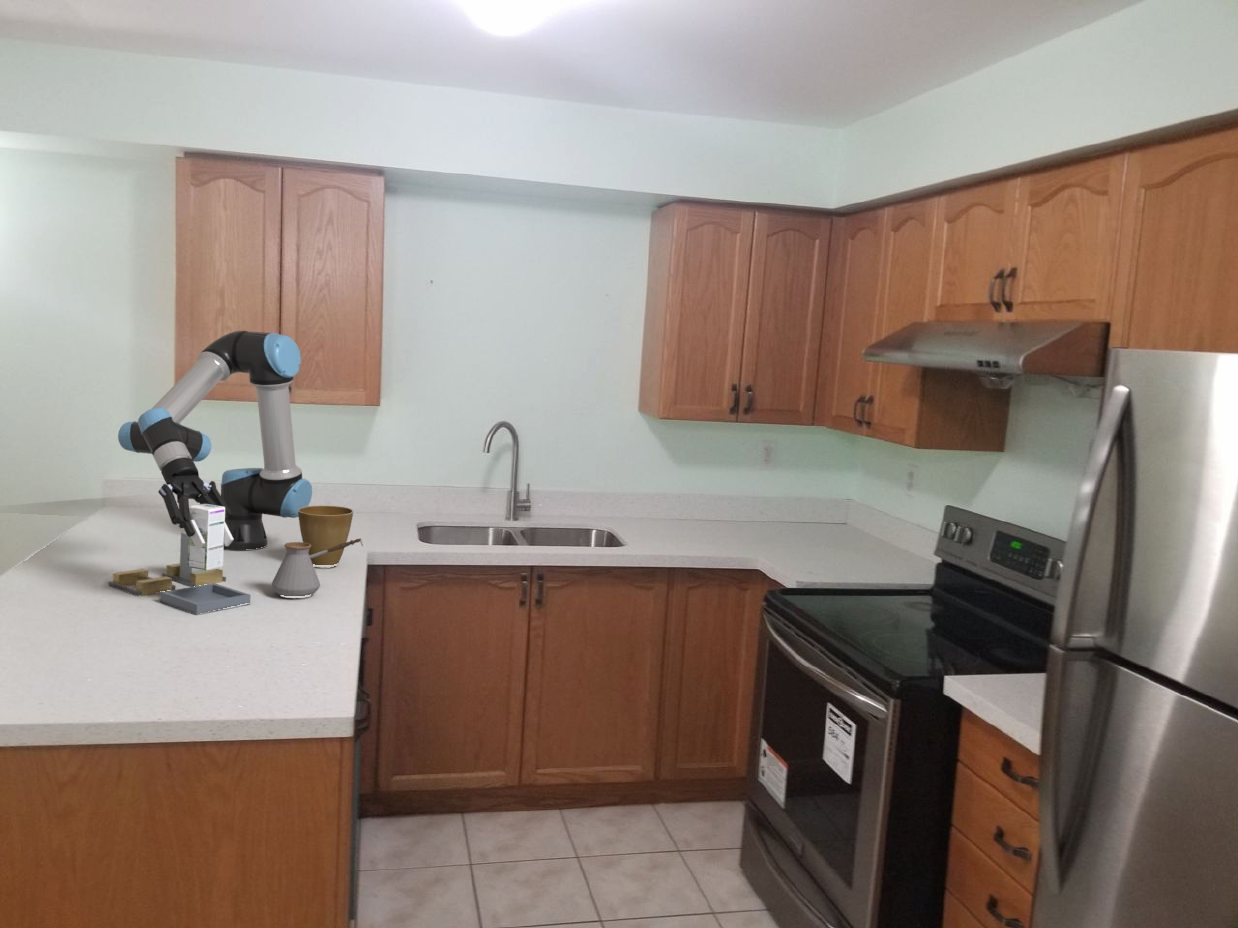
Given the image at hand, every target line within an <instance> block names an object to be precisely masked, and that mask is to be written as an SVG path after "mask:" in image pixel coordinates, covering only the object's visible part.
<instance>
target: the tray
mask: <svg viewBox="0 0 1238 928" xmlns="http://www.w3.org/2000/svg"><path fill="white" fill-rule="evenodd" d="M159 601H160V603H161V602H162V604H164V603H165V605H167V606H170V607H172V606H173V607H172V608H175V607H176V609H178V608H179V609H178V610H181V609H182V610H181V611H184V610H185V611H184V612H186V611H188V612H187V613H189V612H191V613H190V614H192V613H194V614H193V615H195V614H200V613H205V612H208V611H209V612H210V611H213V610H218V609H223V608H227V607H231V606H237V605H240V604H245V603H250V604H251V594H249V593H246V592H243V591H239V590H237V589H233V588H230V587H227V586H224V585H222V584H218V583H212V584H207V585H201V586H195V587H190V586H188V587H184V588H178V589H175V590H171V591H165V592H160V600H159ZM210 613H211V612H210ZM205 614H206V613H205ZM200 615H201V614H200Z"/></svg>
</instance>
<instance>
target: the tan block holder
mask: <svg viewBox="0 0 1238 928" xmlns="http://www.w3.org/2000/svg"><path fill="white" fill-rule="evenodd" d="M133 585H136V588H134V587H131V586H133ZM108 586H109V587H112V588H115V589H117V590H121V591H122V590H123V592H125V591H126V593H128V592H129V593H128V594H131V593H132V594H131V595H134V596H136V595H137V596H138V597H140V596H139V595H141V596H146V595H145V594H147V595H151V594H150V593H153V594H157V593H156V592H159V593H161V592H160V591H167V590H176V586H177V585H175V584H173V581H172V578H170V577H163V576H159V577H150V576H149V570H147V569H144V568H138V569H132V570H131V569H130V570H125V571H117V572H113V573H112V580H110V581H109V582H108ZM137 596H136V597H137Z"/></svg>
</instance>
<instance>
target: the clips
mask: <svg viewBox="0 0 1238 928" xmlns="http://www.w3.org/2000/svg"><path fill="white" fill-rule="evenodd" d="M223 572H224V570H223V569H219V568H216V569H212V570H205V571H198V572H192V573H190V580H187V579H183V578H180V562H179V563H174V564H173V563H172V564H167V565H166V572H164V573H162V577H170V578H172V582H175V583H178V584H182V585H184V586H188V587H190V586H191V587H194V586H199V585H204V584H209V583H212V584H213V583H214V582H218V583H221V582H220V581H224V582H226V581H227V577H226V576H224V575H223V574H224V573H223ZM225 580H226V581H225Z"/></svg>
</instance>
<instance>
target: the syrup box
mask: <svg viewBox="0 0 1238 928" xmlns="http://www.w3.org/2000/svg"><path fill="white" fill-rule="evenodd" d="M189 512H190V521H191V520H194V521H195V523H196V525H197V527H198V529H199V531H200V533H201V535H202V537H203V539H204V541H205V544H204V545H203V547H202V548H201V549H200V550H197V549H196V547H195V545H194V543H193V541H192V539H191V537H189V538H188V567H191V568H196V569H202V570H212V569H219V568H222V567H224V550H225V549H224V525H225V507H223V506H216V505H210V504H200V503H198V504H194V505H191V506H190V505H189Z"/></svg>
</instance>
